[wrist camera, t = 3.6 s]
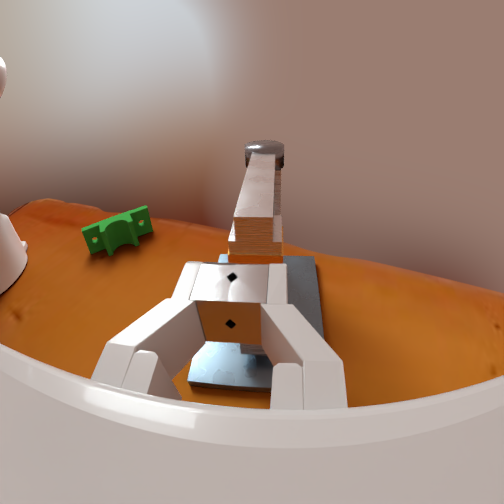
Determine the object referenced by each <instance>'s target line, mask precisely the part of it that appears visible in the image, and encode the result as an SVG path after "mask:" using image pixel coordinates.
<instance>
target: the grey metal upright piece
mask: <svg viewBox="0 0 504 504" xmlns="http://www.w3.org/2000/svg"><path fill="white" fill-rule="evenodd" d="M245 161H246V167H247V171H246V175H245V178H244V182H243V186H242V189H241V192H240V196H239V199H238V203H237V206H236V210H235V213H234V230H235V241H259V242H273V222H274V215H280V201H281V168H283V166H284V144H283V143H281V142H277V141H268V140H263V141H262V140H261V141H253V142H249V143H247V144H245Z"/></svg>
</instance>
